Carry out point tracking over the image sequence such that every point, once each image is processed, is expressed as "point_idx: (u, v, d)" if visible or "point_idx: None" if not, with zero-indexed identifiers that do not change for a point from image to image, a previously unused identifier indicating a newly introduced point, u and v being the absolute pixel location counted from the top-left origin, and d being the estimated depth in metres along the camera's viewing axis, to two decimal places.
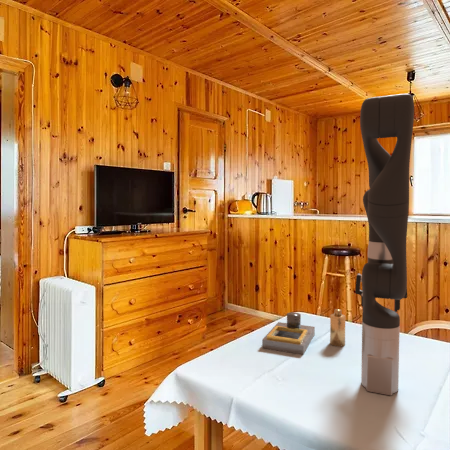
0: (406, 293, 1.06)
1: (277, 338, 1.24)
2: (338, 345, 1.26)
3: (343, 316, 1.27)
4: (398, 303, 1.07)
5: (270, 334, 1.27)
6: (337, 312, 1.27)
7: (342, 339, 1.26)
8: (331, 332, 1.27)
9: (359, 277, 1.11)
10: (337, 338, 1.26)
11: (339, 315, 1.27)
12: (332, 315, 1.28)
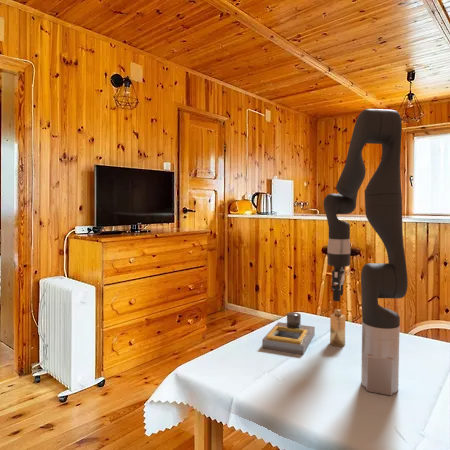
0: None
1: (277, 338, 1.24)
2: (338, 345, 1.26)
3: (343, 316, 1.27)
4: None
5: (270, 334, 1.27)
6: (337, 312, 1.27)
7: (342, 339, 1.26)
8: (331, 332, 1.27)
9: (340, 273, 1.21)
10: (337, 338, 1.26)
11: (339, 315, 1.27)
12: (332, 315, 1.28)
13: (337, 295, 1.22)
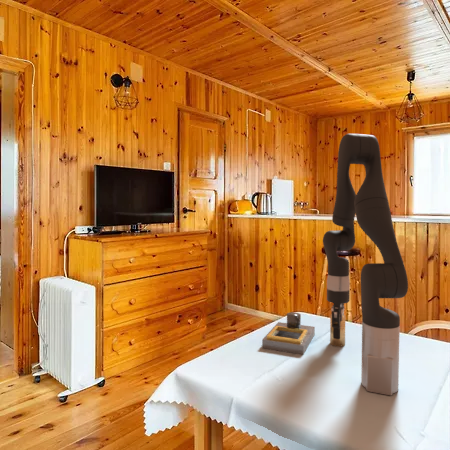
0: None
1: (277, 338, 1.24)
2: (338, 345, 1.26)
3: (343, 316, 1.27)
4: None
5: (270, 334, 1.27)
6: None
7: (342, 339, 1.26)
8: (331, 332, 1.27)
9: (339, 313, 1.22)
10: None
11: None
12: None
13: (337, 333, 1.24)
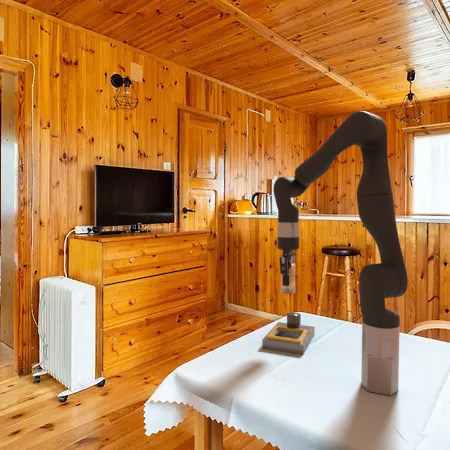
0: None
1: (277, 338, 1.24)
2: (288, 293, 1.25)
3: (293, 264, 1.26)
4: None
5: (270, 334, 1.27)
6: None
7: (292, 286, 1.25)
8: (281, 280, 1.26)
9: None
10: (286, 286, 1.25)
11: None
12: None
13: (286, 280, 1.23)
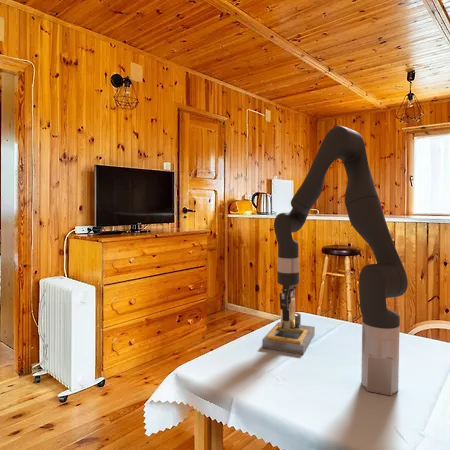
0: None
1: (277, 338, 1.24)
2: (287, 327, 1.26)
3: (293, 298, 1.27)
4: None
5: (270, 334, 1.27)
6: None
7: (292, 321, 1.26)
8: (281, 314, 1.27)
9: (287, 295, 1.21)
10: None
11: None
12: None
13: (286, 315, 1.24)
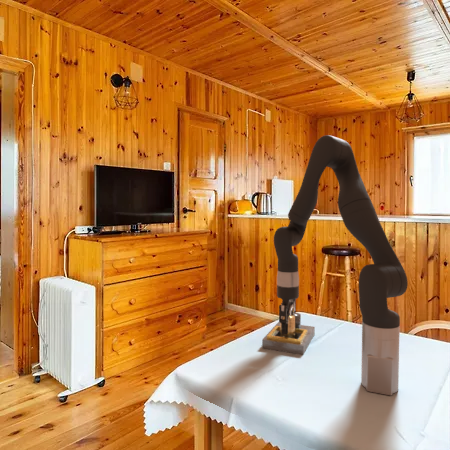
0: (295, 308, 1.33)
1: (277, 338, 1.24)
2: None
3: (293, 316, 1.27)
4: None
5: (270, 334, 1.27)
6: None
7: None
8: None
9: (286, 307, 1.22)
10: None
11: None
12: None
13: (285, 328, 1.23)
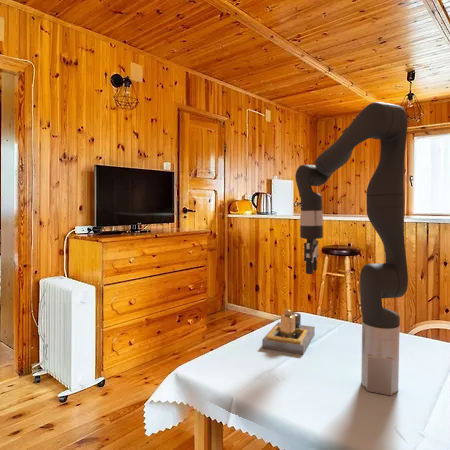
0: None
1: (277, 338, 1.24)
2: None
3: (293, 316, 1.27)
4: None
5: (270, 334, 1.27)
6: (287, 312, 1.27)
7: None
8: (281, 332, 1.27)
9: None
10: None
11: (289, 315, 1.27)
12: (282, 315, 1.28)
13: (310, 267, 1.19)
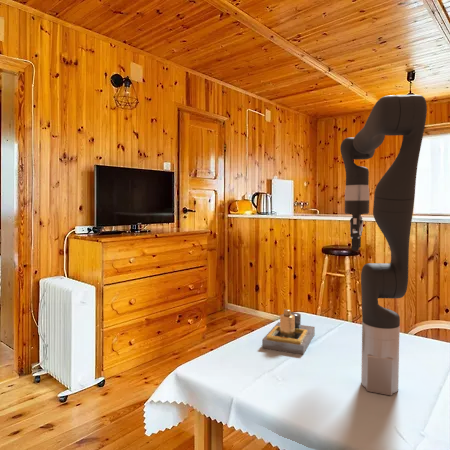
0: None
1: (277, 338, 1.24)
2: None
3: (292, 316, 1.27)
4: None
5: (270, 334, 1.27)
6: (286, 312, 1.27)
7: None
8: (281, 332, 1.27)
9: None
10: None
11: (288, 315, 1.27)
12: (282, 315, 1.28)
13: (356, 244, 1.15)
